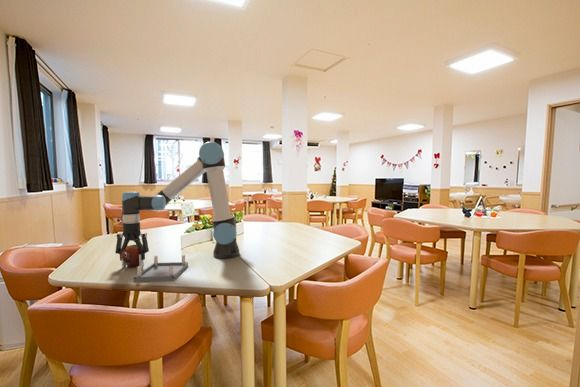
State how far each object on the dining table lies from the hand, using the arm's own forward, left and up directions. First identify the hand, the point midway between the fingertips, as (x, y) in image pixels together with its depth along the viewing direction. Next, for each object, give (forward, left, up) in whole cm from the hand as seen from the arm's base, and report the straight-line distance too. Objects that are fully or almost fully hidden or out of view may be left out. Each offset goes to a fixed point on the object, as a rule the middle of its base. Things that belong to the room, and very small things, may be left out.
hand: (132, 266), depth 133 cm
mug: (0, 0, 0) cm, 1 cm away
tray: (-19, +10, 0) cm, 21 cm away
